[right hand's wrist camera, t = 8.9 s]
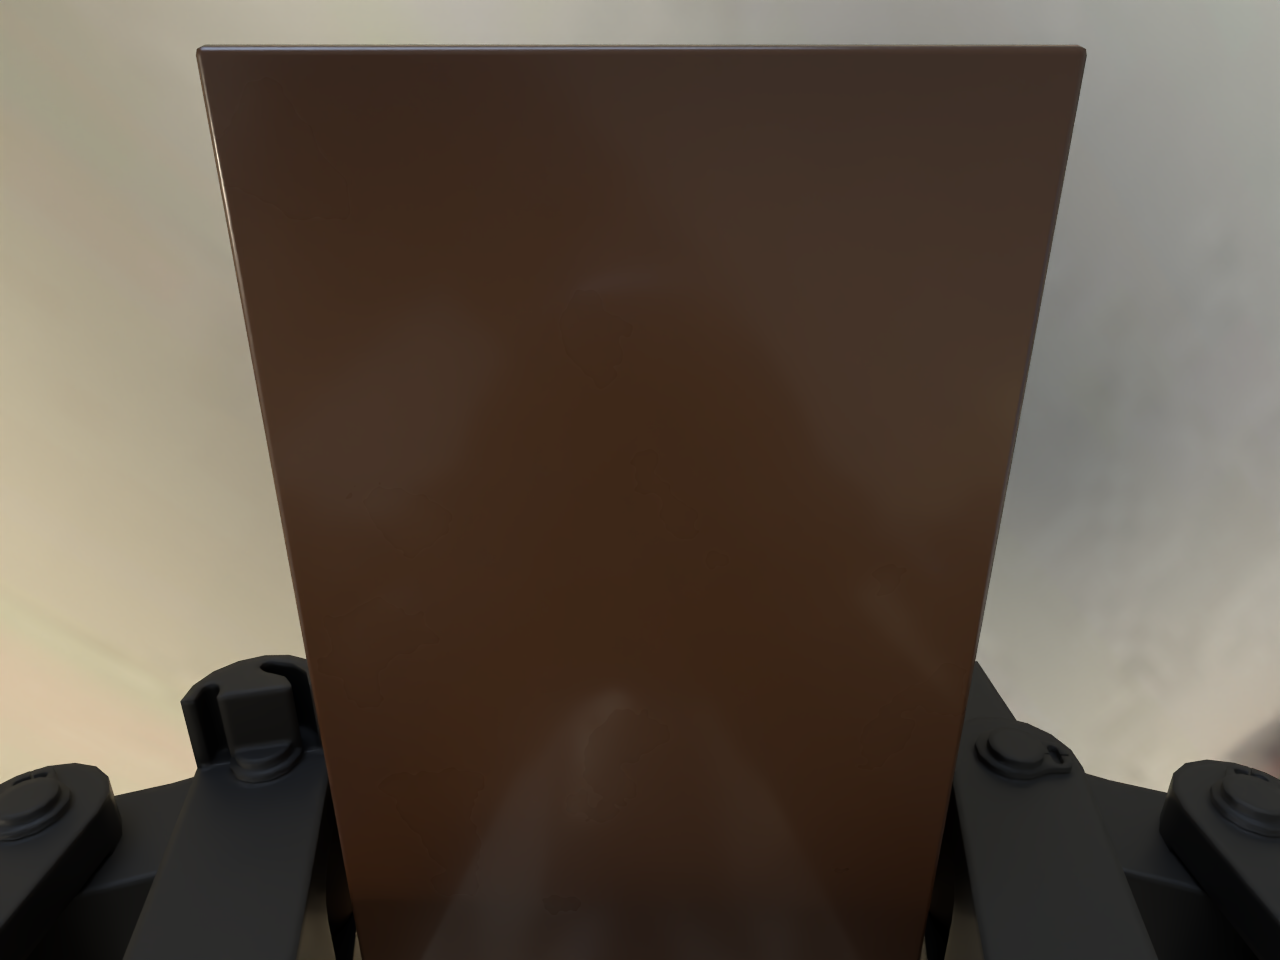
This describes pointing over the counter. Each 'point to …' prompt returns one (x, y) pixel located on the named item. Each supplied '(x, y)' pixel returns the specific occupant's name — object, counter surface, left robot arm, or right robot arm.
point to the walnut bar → (641, 467)
